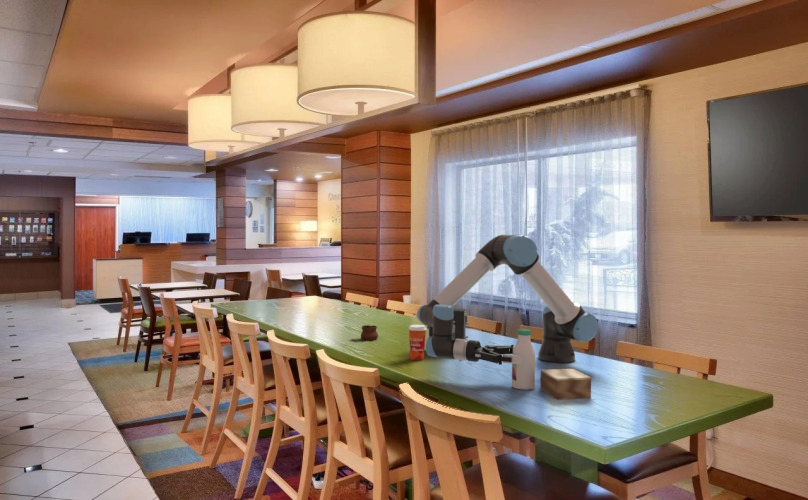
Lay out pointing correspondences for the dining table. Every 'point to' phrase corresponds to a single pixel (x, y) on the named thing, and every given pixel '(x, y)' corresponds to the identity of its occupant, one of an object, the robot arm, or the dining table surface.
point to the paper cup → (417, 341)
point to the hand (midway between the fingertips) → (526, 356)
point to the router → (456, 324)
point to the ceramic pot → (369, 333)
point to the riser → (565, 383)
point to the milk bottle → (524, 362)
